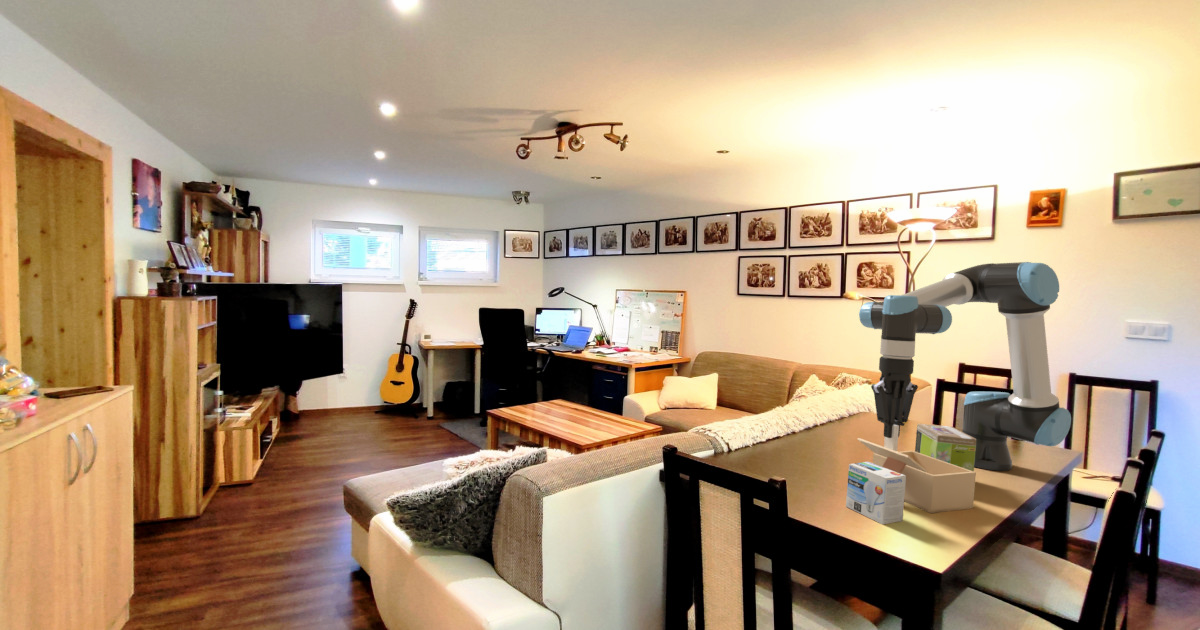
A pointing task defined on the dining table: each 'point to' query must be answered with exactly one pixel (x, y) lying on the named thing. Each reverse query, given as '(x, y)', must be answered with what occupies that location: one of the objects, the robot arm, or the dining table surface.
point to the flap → (893, 457)
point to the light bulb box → (876, 492)
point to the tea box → (946, 445)
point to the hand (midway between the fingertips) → (890, 449)
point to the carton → (936, 484)
